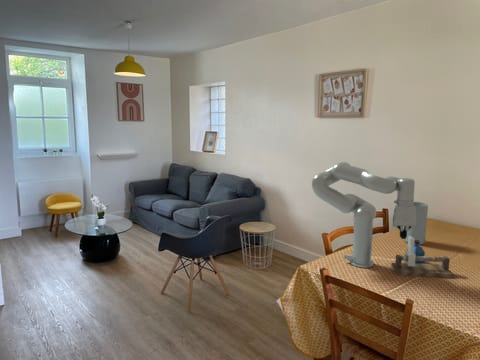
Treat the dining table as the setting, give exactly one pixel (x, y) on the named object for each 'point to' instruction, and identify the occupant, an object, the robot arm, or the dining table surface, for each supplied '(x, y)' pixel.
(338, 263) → the dining table surface
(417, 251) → the perfume bottle
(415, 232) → the cylinder vase
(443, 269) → the pipe stand
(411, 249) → the white l-shaped bracket
